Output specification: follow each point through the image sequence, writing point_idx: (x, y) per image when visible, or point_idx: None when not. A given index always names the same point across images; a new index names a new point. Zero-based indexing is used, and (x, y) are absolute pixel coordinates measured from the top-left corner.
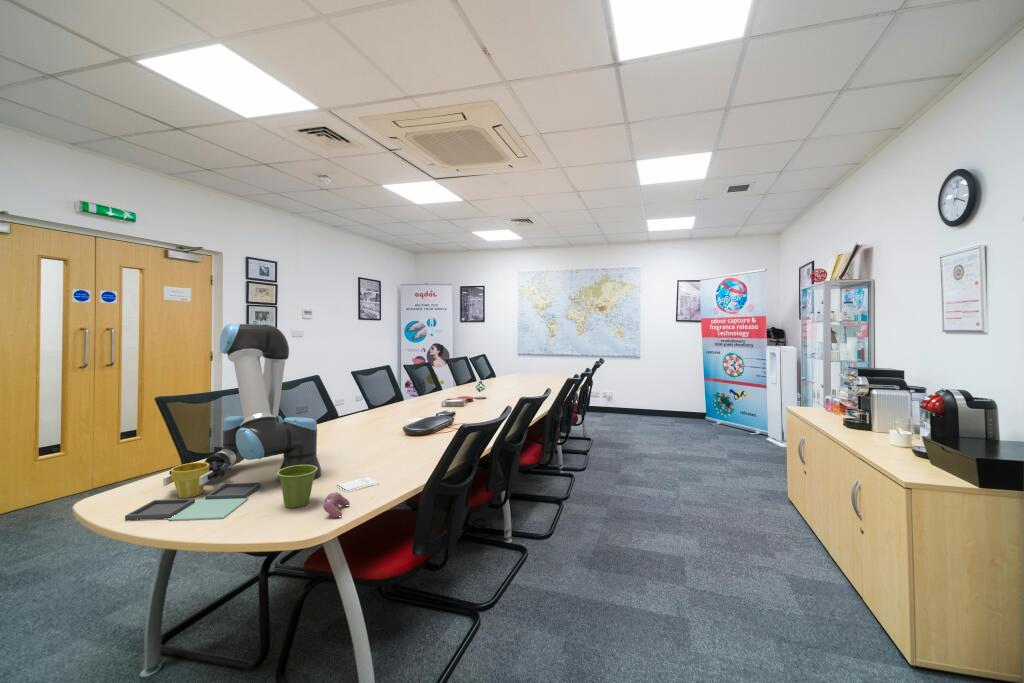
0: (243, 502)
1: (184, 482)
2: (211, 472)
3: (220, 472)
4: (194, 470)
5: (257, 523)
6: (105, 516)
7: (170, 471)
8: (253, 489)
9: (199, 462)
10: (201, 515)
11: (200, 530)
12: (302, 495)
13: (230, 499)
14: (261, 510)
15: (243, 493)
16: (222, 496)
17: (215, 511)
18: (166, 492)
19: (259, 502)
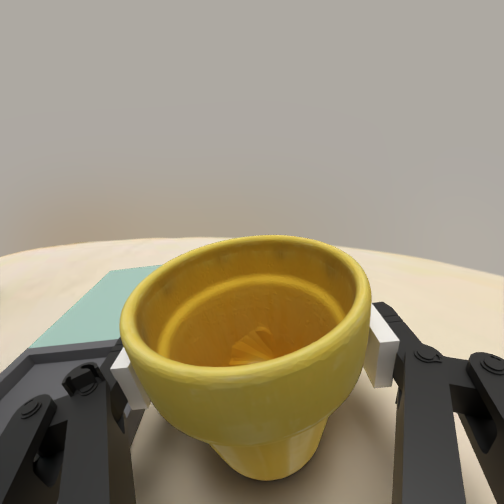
0: (49, 330)
1: (244, 294)
2: (122, 357)
3: (59, 402)
4: (189, 251)
5: (58, 269)
6: (373, 263)
7: (482, 354)
8: None
9: (235, 366)
10: (152, 271)
11: (145, 251)
12: None
13: (82, 342)
14: (27, 302)
15: (13, 404)
16: (104, 343)
17: (126, 284)
18: (464, 460)
19: (4, 340)
